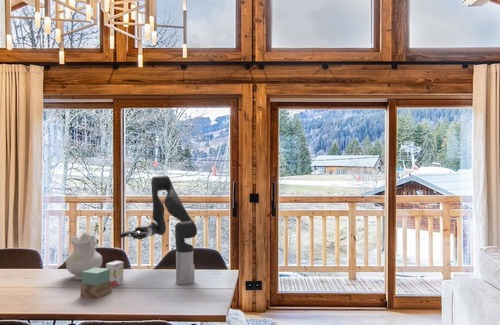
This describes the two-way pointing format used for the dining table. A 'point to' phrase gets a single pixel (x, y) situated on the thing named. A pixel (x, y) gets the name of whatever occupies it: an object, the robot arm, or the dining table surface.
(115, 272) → the ink box
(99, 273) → the green block
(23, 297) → the dining table surface
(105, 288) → the walnut block
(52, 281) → the dining table surface
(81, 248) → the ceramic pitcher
